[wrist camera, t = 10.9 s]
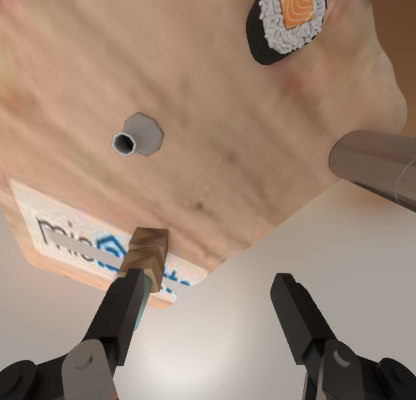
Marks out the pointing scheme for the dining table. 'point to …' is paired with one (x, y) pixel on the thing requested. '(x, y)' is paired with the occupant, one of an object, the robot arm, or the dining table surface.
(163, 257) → the tower base
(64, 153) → the dining table surface
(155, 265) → the tower top
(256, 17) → the sushi
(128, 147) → the flask
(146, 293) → the cylinder
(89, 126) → the dining table surface
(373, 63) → the dining table surface
